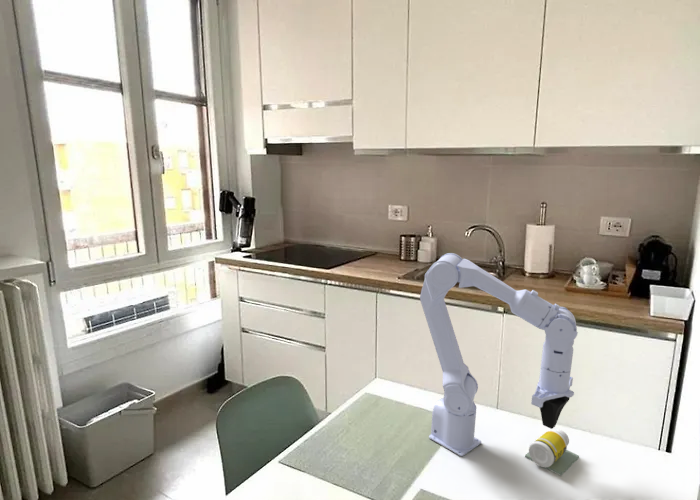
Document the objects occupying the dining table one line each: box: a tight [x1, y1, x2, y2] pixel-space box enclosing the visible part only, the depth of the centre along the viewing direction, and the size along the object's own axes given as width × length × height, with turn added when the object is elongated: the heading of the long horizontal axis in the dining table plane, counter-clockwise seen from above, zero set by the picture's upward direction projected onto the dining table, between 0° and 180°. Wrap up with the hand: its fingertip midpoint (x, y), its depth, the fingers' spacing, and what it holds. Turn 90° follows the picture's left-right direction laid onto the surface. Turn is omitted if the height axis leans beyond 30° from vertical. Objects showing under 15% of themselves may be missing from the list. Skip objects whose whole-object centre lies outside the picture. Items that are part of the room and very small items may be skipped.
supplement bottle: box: [528, 428, 570, 468], centre depth 102 cm, size 5×5×10 cm
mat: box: [524, 449, 580, 476], centre depth 103 cm, size 8×9×1 cm
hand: (548, 425), depth 99 cm, fingers closed
